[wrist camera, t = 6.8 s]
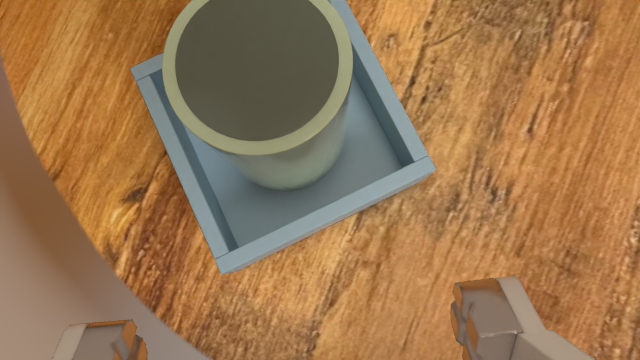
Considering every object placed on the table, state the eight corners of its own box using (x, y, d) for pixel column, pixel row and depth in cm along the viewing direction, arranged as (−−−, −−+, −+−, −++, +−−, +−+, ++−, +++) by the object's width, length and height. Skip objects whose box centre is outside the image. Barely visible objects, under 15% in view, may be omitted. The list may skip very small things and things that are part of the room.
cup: (366, 159, 26) (387, 102, 16) (255, 212, 26) (207, 188, 16) (313, 55, 27) (301, -59, 17) (206, 105, 27) (131, 19, 17)
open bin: (422, 180, 27) (436, 169, 23) (236, 271, 26) (220, 274, 22) (332, 10, 28) (332, -27, 25) (156, 92, 28) (129, 67, 24)
